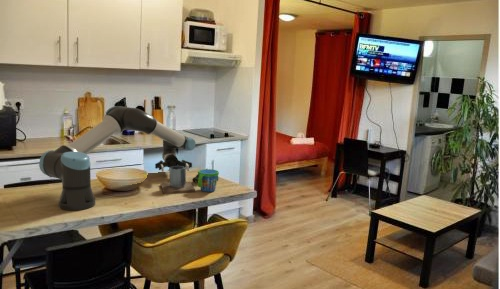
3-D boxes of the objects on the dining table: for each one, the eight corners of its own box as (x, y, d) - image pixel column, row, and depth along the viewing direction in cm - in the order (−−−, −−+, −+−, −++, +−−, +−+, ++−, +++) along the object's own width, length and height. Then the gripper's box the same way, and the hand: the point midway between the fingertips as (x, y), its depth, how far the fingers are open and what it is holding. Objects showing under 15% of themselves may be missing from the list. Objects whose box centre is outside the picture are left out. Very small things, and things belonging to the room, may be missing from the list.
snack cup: (210, 185, 224) (210, 167, 223) (225, 189, 218) (225, 170, 217) (190, 191, 212) (190, 172, 210) (205, 195, 206) (205, 175, 204)
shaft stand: (163, 193, 206) (163, 181, 205) (160, 185, 221) (160, 173, 220) (195, 192, 211) (195, 180, 210) (190, 183, 226) (190, 172, 225)
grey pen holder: (170, 188, 211) (170, 169, 209) (168, 184, 219) (168, 166, 217) (186, 188, 214) (186, 169, 212) (184, 183, 221) (184, 165, 219)
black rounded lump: (192, 178, 236) (201, 163, 234) (206, 186, 236) (215, 171, 235) (190, 182, 225) (199, 167, 224) (205, 190, 226) (214, 175, 225)
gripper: (192, 165, 248) (198, 174, 228) (149, 167, 240) (152, 176, 220) (192, 153, 246) (198, 161, 226) (149, 154, 239) (151, 162, 219)
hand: (175, 168), depth 223 cm, fingers open, 13 cm apart
